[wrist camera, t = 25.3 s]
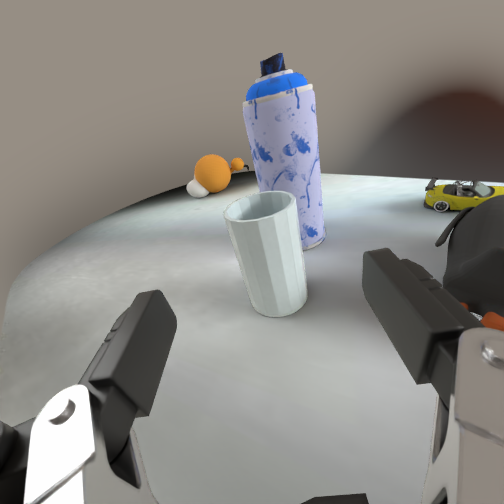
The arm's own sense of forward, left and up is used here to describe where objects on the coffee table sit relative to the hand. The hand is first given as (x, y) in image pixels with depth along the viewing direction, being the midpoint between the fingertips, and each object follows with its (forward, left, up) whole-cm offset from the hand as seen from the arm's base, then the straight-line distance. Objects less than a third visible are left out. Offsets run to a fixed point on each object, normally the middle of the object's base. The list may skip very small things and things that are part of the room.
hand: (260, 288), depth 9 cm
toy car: (+33, -1, -11) cm, 35 cm away
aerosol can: (+17, +14, -11) cm, 25 cm away
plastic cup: (+7, +8, -11) cm, 15 cm away
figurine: (+19, -5, -11) cm, 23 cm away
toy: (+25, +46, -11) cm, 54 cm away
